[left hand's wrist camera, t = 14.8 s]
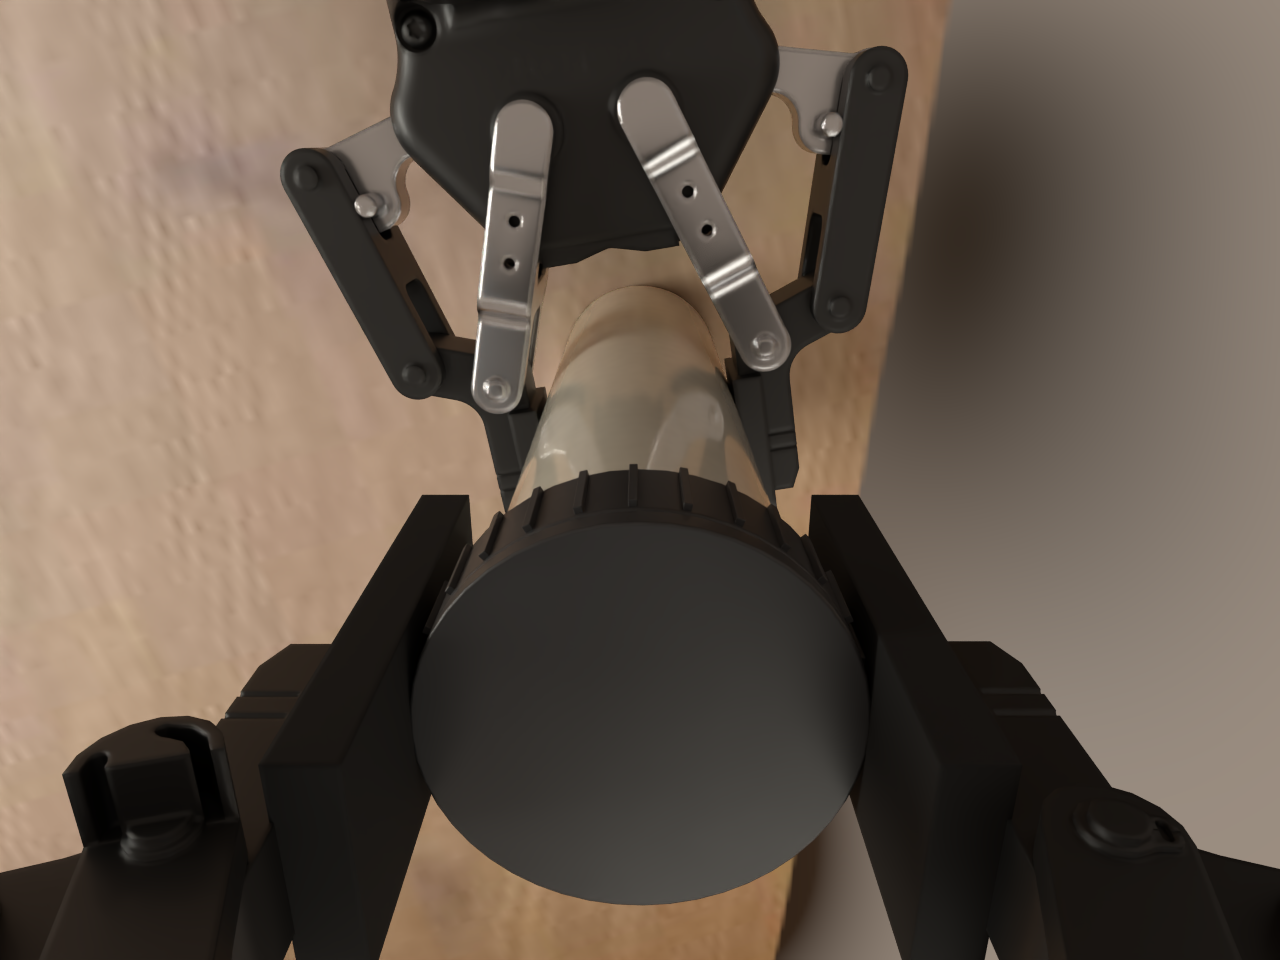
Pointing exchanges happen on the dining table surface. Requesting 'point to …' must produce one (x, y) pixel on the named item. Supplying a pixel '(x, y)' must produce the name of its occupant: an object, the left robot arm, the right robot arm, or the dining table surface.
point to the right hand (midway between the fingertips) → (657, 515)
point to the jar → (640, 399)
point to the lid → (640, 690)
